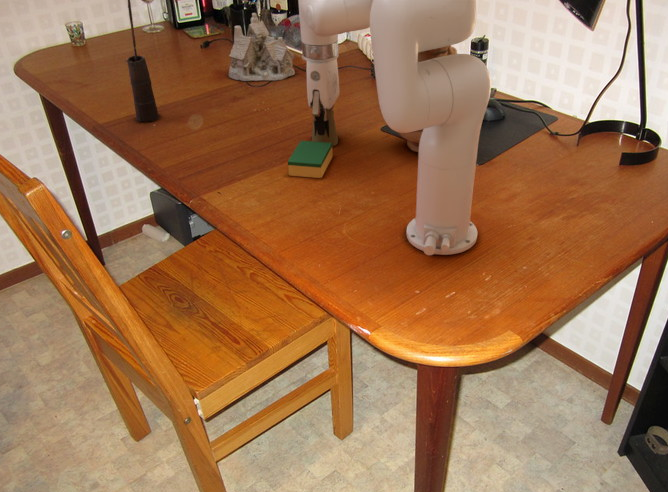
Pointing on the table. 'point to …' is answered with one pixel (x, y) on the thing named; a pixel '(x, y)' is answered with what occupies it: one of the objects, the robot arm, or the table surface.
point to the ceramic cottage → (259, 55)
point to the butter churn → (141, 83)
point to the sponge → (310, 159)
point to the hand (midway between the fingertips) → (324, 131)
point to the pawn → (332, 130)
